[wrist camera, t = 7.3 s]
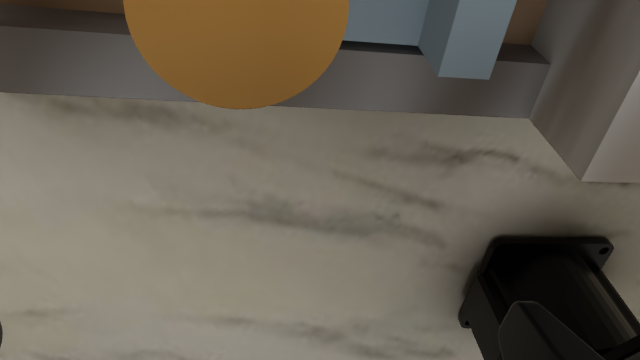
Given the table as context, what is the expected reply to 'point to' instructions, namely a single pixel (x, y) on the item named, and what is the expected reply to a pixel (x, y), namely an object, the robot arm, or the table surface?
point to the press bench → (384, 73)
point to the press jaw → (303, 41)
